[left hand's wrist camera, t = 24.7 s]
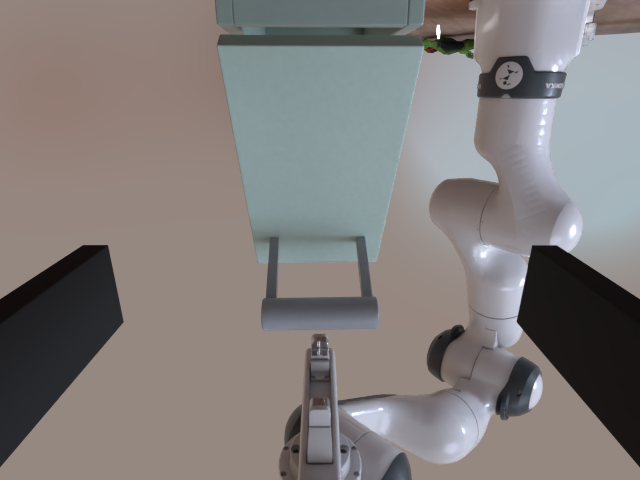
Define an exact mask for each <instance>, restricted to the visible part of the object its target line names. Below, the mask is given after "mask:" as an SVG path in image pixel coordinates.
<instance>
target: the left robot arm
mask: <svg viewBox="0 0 640 480" xmlns="http://www.w3.org/2000/svg"><path fill="white" fill-rule="evenodd" d="M122 323H123V317H122V312H121V307H120V302H119V297H118V292H117V287H116V282H115V278H114V273H113V268H112V263H111V258H110V253H109V248H108V245H83V246H81V247H80V248H78V249H77V250H75V251H74V252H72V253H71V254H69V255H67V256H66V257H64V258H63V259H61V260H60V261H58V262H57V263H55V264H54V265H52V266H51V267H49V268H47V269H46V270H44V271H43V272H41V273H40V274H38V275H37V276H35V277H34V278H32V279H31V280H29V281H28V282H26V283H24V284H23V285H21V286H20V287H18V288H17V289H15V290H14V291H12V292H11V293H9V294H7V295H6V296H4V297H3V298H1V299H0V467H1V466H2V464H3V463H4V462H5V461H6V460H7V459H8V457H9V456H10V455H11V454H12V453H13V452H14V450H15V449H16V448H17V447H18V446H19V444H20V443H21V442H22V441H23V440H24V438H25V437H26V436H27V435H28V434H29V433H30V432H31V430H32V429H33V428H34V427H35V426H36V424H37V423H38V422H39V421H40V420H41V419H42V417H43V416H44V415H45V414H46V413H47V412H48V410H49V409H50V408H51V407H52V406H53V404H54V403H55V402H56V401H57V400H58V399H59V397H60V396H61V395H62V394H63V393H64V392H65V390H66V389H67V388H68V387H69V386H70V384H71V383H72V382H73V381H74V380H75V379H76V377H77V376H78V375H79V374H80V373H81V372H82V370H83V369H84V368H85V367H86V366H87V364H88V363H89V362H90V361H91V360H92V359H93V357H94V356H95V355H96V354H97V353H98V352H99V350H100V349H101V348H102V347H103V346H104V344H105V343H106V342H107V341H108V340H109V339H110V337H111V336H112V335H113V334H114V333H115V332H116V330H117V329H118V328H119V327H120V326H121V324H122ZM517 323H518V325H519V326H520V327H521V328H522V329H523V330H524V332H525V333H526V334H527V335H528V336H529V337H530V339H531V340H532V341H533V342H534V343H535V345H536V346H537V347H538V348H539V349H540V350H541V352H542V353H543V354H544V355H545V356H546V357H547V359H548V360H549V361H550V362H551V363H552V364H553V366H554V367H555V368H556V369H557V370H558V372H559V373H560V374H561V375H562V376H563V377H564V379H565V380H566V381H567V382H568V383H569V384H570V386H571V387H572V388H573V389H574V390H575V391H576V393H577V394H578V395H579V396H580V397H581V399H582V400H583V401H584V402H585V403H586V404H587V406H588V407H589V408H590V409H591V410H592V411H593V413H594V414H595V415H596V416H597V417H598V419H599V420H600V421H601V422H602V423H603V424H604V426H605V427H606V428H607V429H608V430H609V432H610V433H611V434H612V435H613V436H614V437H615V439H616V440H617V441H618V442H619V443H620V444H621V446H622V447H623V448H624V449H625V450H626V452H627V453H628V454H629V455H630V456H631V457H632V458H633V460H634V461H635V462H636V463H637V464H638V466H639V467H640V299H639V298H637V297H635V296H634V295H633V294H631V293H629V292H628V291H626V290H625V289H623V288H622V287H620V286H619V285H617V284H616V283H614V282H612V281H611V280H609V279H608V278H606V277H605V276H603V275H602V274H600V273H599V272H597V271H596V270H594V269H593V268H591V267H589V266H588V265H586V264H585V263H583V262H582V261H580V260H579V259H577V258H576V257H574V256H573V255H571V254H570V253H568V252H566V251H565V250H563V249H562V248H560V247H559V246H557V245H532V248H531V253H530V258H529V263H528V268H527V273H526V278H525V282H524V287H523V292H522V297H521V302H520V307H519V312H518V317H517Z"/></svg>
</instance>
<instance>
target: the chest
mask: <svg viewBox="0 0 640 480" xmlns="http://www.w3.org/2000/svg"><path fill="white" fill-rule="evenodd" d="M215 7H216V19H217V24H218V25H219V26H220V27H222V28H223V29H224V30H226V31H227V32H229V33H230V34H231V35H406V34H408V33H410V32H411V31H413V30H415V29H417V28H418V27H420V26H422V25H423V22H424V10H425V0H215Z"/></svg>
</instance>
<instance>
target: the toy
mask: <svg viewBox="0 0 640 480" xmlns="http://www.w3.org/2000/svg"><path fill="white" fill-rule="evenodd" d="M427 38H428V37H427ZM427 38H426V39H424V40H422V42H423V45H424V50H425V51H426V52H428V53H434V52H436V51H437V50H438V51H439V52H441V53H443V54H447V55H450V54H452V53H456V52H459V53H461V54H466V56H467V57H468V58H472V59H473V57H474V56H473V55H474V54H473V53H471V51H468V50H471V49H474V39H466V40H463V41H456V40H454V39H452V38H447V37H441V38H439V39H437V40H435V41H430V40H428V39H427ZM471 54H472V55H471Z"/></svg>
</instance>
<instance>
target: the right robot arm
mask: <svg viewBox="0 0 640 480" xmlns="http://www.w3.org/2000/svg"><path fill="white" fill-rule="evenodd" d="M605 2H606V0H474V1H471V2H469V10H472V11H476V23H475V39H474V59H475V60H476V62H478V63H479V65H480V67H481V69H482V74H480V75H479V83H478V85H477V89H478V93H477V96H478V97H484V98H479V106H478V113H477V121H476V128H475V136H474V144H475V147H476V150H477V151H478V153H479V154H480V155H481V156H482V157H483V158H485V159H486V160H487V161H489V162H490V163H491V164H492V166H493V167H494V169H495V171H496V173H497V176H498V180H499V183H495V182H489V181H484V180H479V179H473V178H458V179H447V180H445V181H443V182H442V183H440V184H439V185H438V186H437V188H436V189H435V190H434V192H433V194H432V196H431V199H430V203H429V213H430V217H431V220H432V222H433V223H434V224H435V225H436V226H437V227H438V228H439V229H441V230H442V231H443V233H444V234H445V235H446V236H447V237H448V239H449V240H450V241H451V243H452V244H453V246H454V248H455V250H456V251H457V253H458V255H459V257H460V259H461V261H462V264H463V266H464V270H465V274H466V283H467V296H468V309H469V324H468V327H467V328H466V330H464V327H463V326H462V325H455V326H454V327H453V328H452V329H449V330H445V331H444V332H442V333H440V334H439V335H438V336H436V337H435V338H434V340H433V341H432V343H431V345H430V348H429V350H428V354H427V366H428V370H429V371H430V372H431V374H433V375H434V376H435V377H436V378H438V379H439V380H441V381H442V382H447V383H448V384H450V385H451V386H453V387H452V388H449V389H443V390H439V391H436V392H434V393H431V394H424V395H387V394H382V395H373V396H366V397H360V398H353V399H347V400H337V382H336V364H335V353H334V350H333V349H331V348H328V336H327V335H326V334H314V335H313V336H312V348H310V349H307V350H306V353H305V363H304V381H303V398H302V404H301V405H300V406H299V407H297V408H296V409H295V410H294V412H293V413H292V414H291V416H290V418H289V419H288V422H287V424H286V428H285V437H284V440H285V446H284V448H283V450H282V452H281V454H280V458H279V480H412V478H411V469H410V464H409V461H408V458H407V456H406V454H405V453H403V452H402V451H401V450H400V449H399V448H397V447H396V446H394V445H393V444H392V443H390V442H393V443H395V444H397V445H398V446H400V447H402V448H404V449H405V450H407V451H409V452H411V453H412V454H414V455H416V456H418V457H419V458H421V459H423V460H425V461H428V462H430V463H434V464H448V463H453V462H456V461H458V460H460V459H462V458H463V457H464V456H466V455H467V454H468V453H469V452H470V451H471V450H472V449H473V448H475V446H476V445H477V444H478V443H479V441H480V440H481V439H482V437H483V435H484V433H485V431H486V428H487V425H488V422H489V419H490V417H491V416H492V415H494V414H497V415H500V417H501V419H502V420H507V419H508V418H509V416H521V415H523V414H525V413H528V412H529V411H531V410H532V408H533V407H534V406H535V405H536V404H537V402H538V401H539V399H540V397H541V394H542V389H543V383H542V373H541V371H540V369H539V367H538V366H537V365H536V364H534V363H533V362H531V361H529V360H528V359H526V358H524V357H518V356H516V355H514V354H512V353H510V352H508V351H506V350H504V349H502V348H506V347H509V346H512V345H513V344H515V343H516V342H517V341H518V340H519V338H520V336H521V334H522V332H523V329H522V328H521V327H520V326H519V325H518V323H517V317H518V312H519V307H520V302H521V297H522V292H523V287H524V282H525V278H526V273H527V268H528V266H527V264H526V262H525V261H524V259H523V258H522V257H521V256H524V257H530V253H531V248H532V245H557V246H559V247H560V248H562V249H563V250H565V251H566V252H568V253H569V252H570V251H571V250H572V249H573V248H574V247H575V245H576V244H577V243H578V241H579V239H580V237H581V234H582V231H583V218H582V214H581V211H580V210H579V207H578V206H577V204H576V203H575V202H574V201H573V200H572V199H571V198H570V197H569V196H568V195H567V194H566V193H565V192H564V190H563V189H562V187H561V186H560V184H559V182H558V180H557V179H556V176H555V174H554V171H553V168H552V164H551V158H550V140H551V131H552V124H553V118H554V112H555V106H556V101H557V98H559V97H560V96H561V92H562V89H563V88H564V85H565V84H564V82H565V78H566V75H567V74H566V73H565V70H566V68H567V66H568V64H569V63H570V61H571V60H573V59H574V58H575V57H576V55H578V54H579V52H580V47H581V46H587V44H588V41H590V40H593V39H594V35H595V30H596V26H597V24H596V23H590V24H587V25H585V24H586V23H588V22H592V20H593V19H594V14H595V13H594V10H598V9H602V8H603V6H604V4H605ZM437 38H438V39H439V38H440V26H439V25H437ZM520 255H521V256H520ZM387 440H388V441H387ZM389 441H390V442H389Z"/></svg>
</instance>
